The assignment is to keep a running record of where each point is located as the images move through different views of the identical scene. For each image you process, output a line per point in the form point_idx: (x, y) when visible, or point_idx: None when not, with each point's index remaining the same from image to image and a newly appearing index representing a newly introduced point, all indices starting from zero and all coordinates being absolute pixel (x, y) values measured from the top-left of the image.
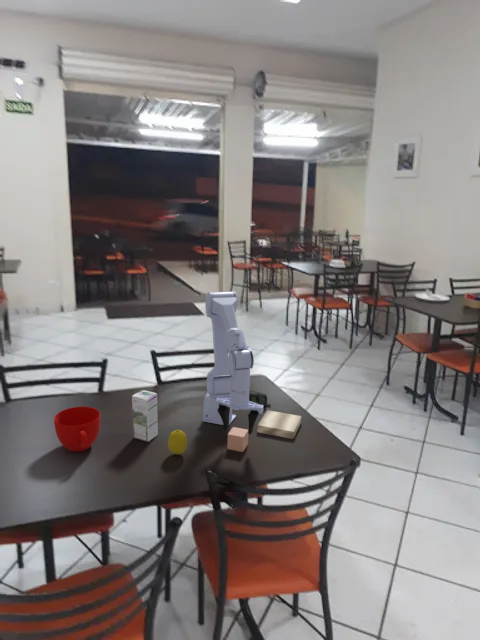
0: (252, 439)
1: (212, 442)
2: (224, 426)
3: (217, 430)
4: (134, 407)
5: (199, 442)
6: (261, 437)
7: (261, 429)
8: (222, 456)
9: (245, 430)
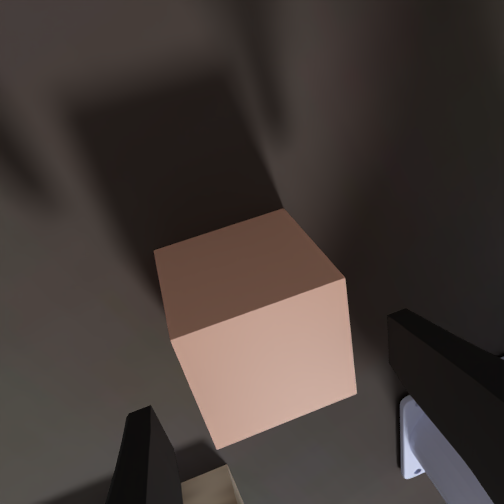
0: None
1: (416, 207)
2: (431, 327)
3: None
4: None
5: (497, 147)
6: None
7: (207, 497)
8: (255, 80)
9: (233, 426)
